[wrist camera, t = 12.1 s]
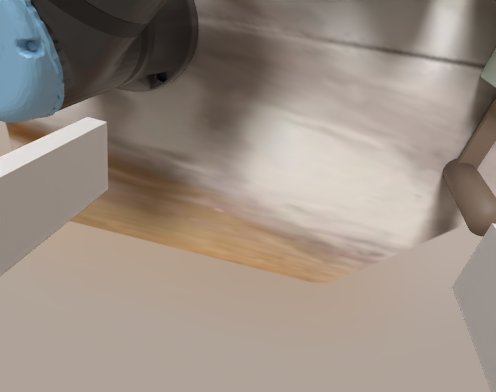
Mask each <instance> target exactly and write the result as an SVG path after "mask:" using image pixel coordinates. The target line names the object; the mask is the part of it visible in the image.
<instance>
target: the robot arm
mask: <svg viewBox="0 0 496 392" xmlns="http://www.w3.org/2000/svg"><path fill="white" fill-rule="evenodd" d="M197 36H198V19H197V12H196V7H195V3H194V0H0V121H3V122H7V123H16V122H23V121H27V120H31V119H35V118H42V117H47V116H51V115H53V114H54V113H55V112H57V111H59V110H61V109H63V108H66V107H68V106H71V105H73V104H76V103H78V102H81V101H83V100H86V99H88V98H91V97H93V96H96V95H98V94H101V93H103V92H106V91H108V90H111V89H113V88H117V89H122V90H127V91H133V92H143V91H150V90H154V89H157V88H160V87H162V86H164V85H166V84H168V83H170V82H172V81H173V80H175V79H176V78H177V77H178V76H179V75H180V74H181V73H182V72H183V71H184V70H185V68H186V67H187V66H188V64H189V62H190V60H191V58H192V56H193V53H194V50H195V47H196V42H197ZM107 190H108V149H107V122H105V121H101V120H97V119H94V118H90V117H86V118H83V119H81V120H79V121H77V122H75V123H73V124H70V125H68V126H66V127H64V128H62V129H60V130H57V131H55V132H53V133H51V134H49V135H46V136H44V137H42V138H40V139H38V140H36V141H33V142H31V143H29V144H27V145H25V146H22V147H20V148H18V149H16V150H14V151H12V152H9V153H8V154H5V155H3V156H1V157H0V276H1V275H2V274H4V273H5V272H6V271H7V270H9V269H10V268H11V267H12V266H14V265H15V264H16V263H17V262H19V261H20V260H21V259H22V258H23V257H25V256H26V255H27V254H28V253H30V252H31V251H32V250H33V249H35V248H36V247H37V246H38V245H40V244H41V243H42V242H43V241H45V240H46V239H47V238H48V237H50V236H51V235H52V234H53V233H55V232H56V231H57V230H58V229H60V228H61V227H62V226H63V225H64V224H66V223H67V222H68V221H69V220H71V219H72V218H73V217H74V216H76V215H77V214H78V213H79V212H81V211H82V210H83V209H84V208H86V207H87V206H88V205H89V204H91V203H92V202H93V201H94V200H95V199H97V198H98V197H99V196H100V195H102V194H103V193H104V192H105V191H107ZM452 288H453V291H454V294H455V296H456V299H457V302H458V304H459V307H460V310H461V312H462V315H463V317H464V320H465V323H466V326H467V328H468V331H469V334H470V336H471V339H472V341H473V344H474V347H475V350H476V352H477V355H478V358H479V360H480V363H481V366H482V368H483V371H484V373H485V376H486V379H487V382H488V384H489V387H490V389H491V392H496V224H494V223H492V224H491V226H490V227H489V229H488V230H487V232H486V234H485V235H484V237H483V238H482V240H481V242H480V243H479V245H478V246H477V248H476V250H475V251H474V253H473V255H472V256H471V258H470V259H469V261H468V262H467V264H466V265H465V267H464V269H463V270H462V272H461V273H460V275H459V277H458V278H457V280H456V281H455V283H454V285H453V286H452Z"/></svg>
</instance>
